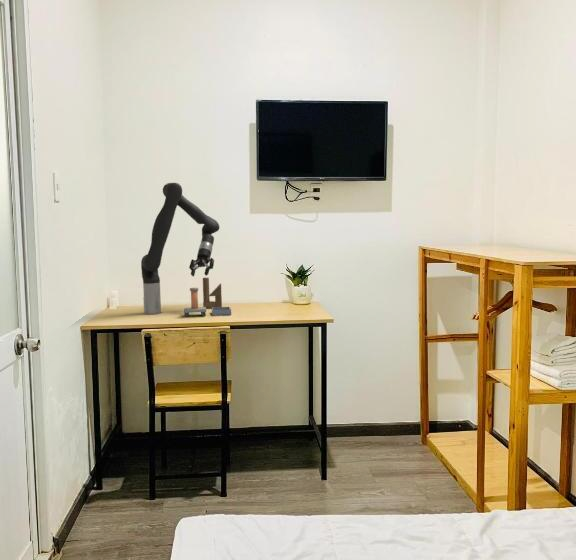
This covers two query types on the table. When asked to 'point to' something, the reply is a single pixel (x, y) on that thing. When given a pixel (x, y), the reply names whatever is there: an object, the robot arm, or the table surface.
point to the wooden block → (216, 293)
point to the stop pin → (194, 298)
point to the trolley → (189, 310)
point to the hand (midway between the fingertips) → (199, 275)
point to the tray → (221, 311)
